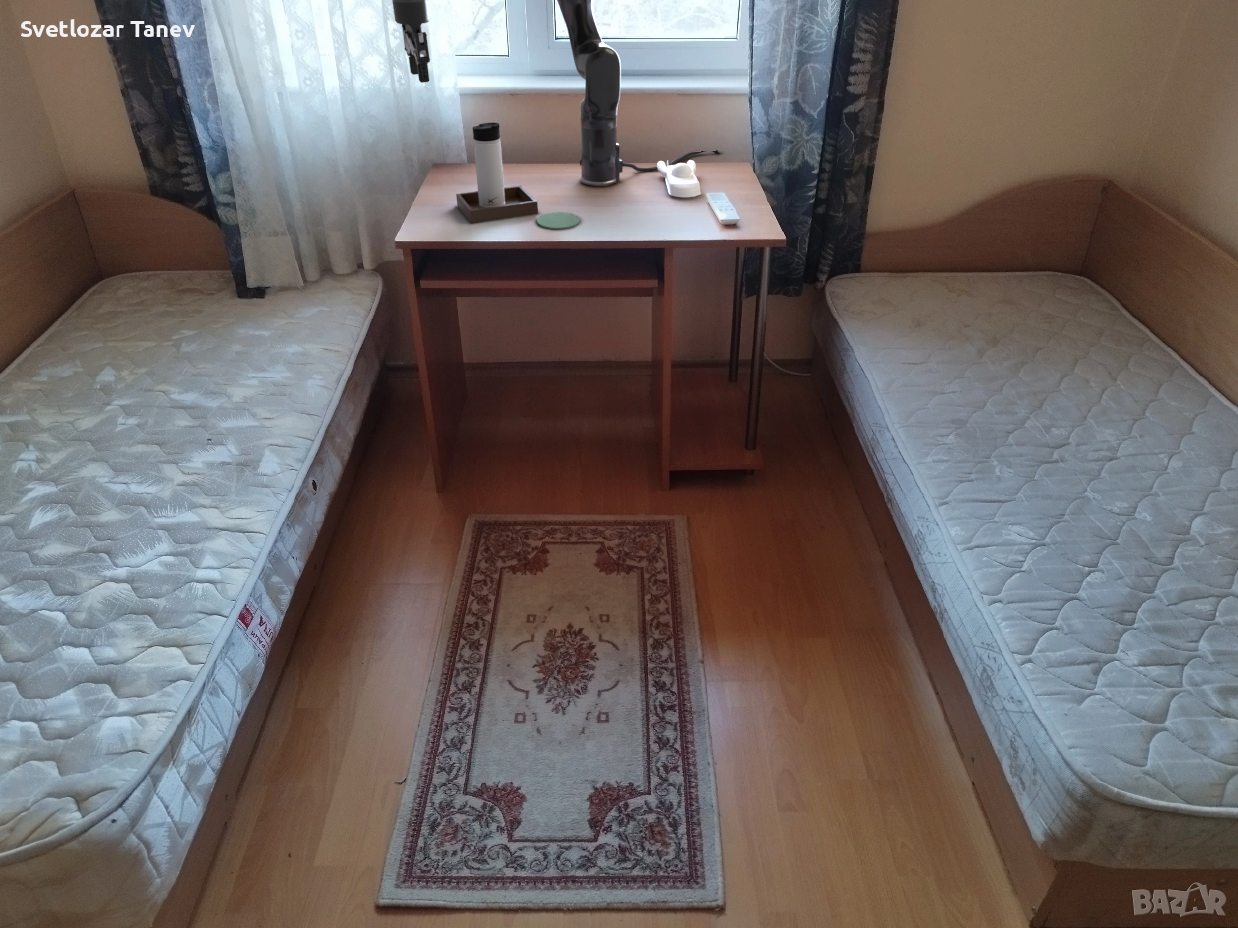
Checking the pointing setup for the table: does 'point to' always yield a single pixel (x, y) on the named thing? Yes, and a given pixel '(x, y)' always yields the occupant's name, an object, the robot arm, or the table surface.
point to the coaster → (558, 220)
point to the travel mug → (489, 165)
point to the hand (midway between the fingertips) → (420, 78)
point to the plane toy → (680, 178)
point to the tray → (515, 205)
